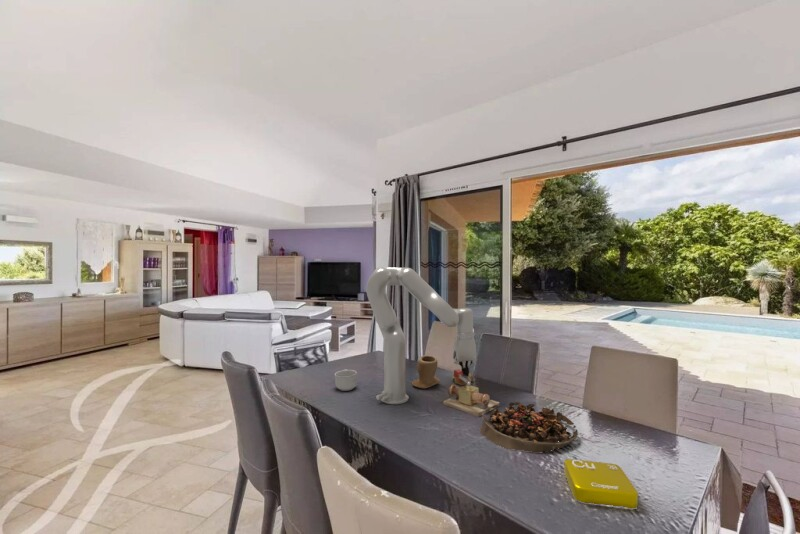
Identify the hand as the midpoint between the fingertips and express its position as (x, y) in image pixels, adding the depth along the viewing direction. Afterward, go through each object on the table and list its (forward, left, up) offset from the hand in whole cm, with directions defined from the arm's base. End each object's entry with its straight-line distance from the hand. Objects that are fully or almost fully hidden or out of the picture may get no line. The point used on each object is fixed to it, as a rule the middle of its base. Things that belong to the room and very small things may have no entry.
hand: (465, 375), depth 169 cm
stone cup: (0, +23, -10) cm, 25 cm away
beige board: (-6, -7, -10) cm, 14 cm away
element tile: (-31, -66, -11) cm, 74 cm away
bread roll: (+17, +14, -11) cm, 24 cm away
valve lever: (-5, -2, -1) cm, 5 cm away
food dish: (-12, -35, -11) cm, 39 cm away
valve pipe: (-8, -7, -9) cm, 14 cm away
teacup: (-31, +49, -10) cm, 59 cm away
